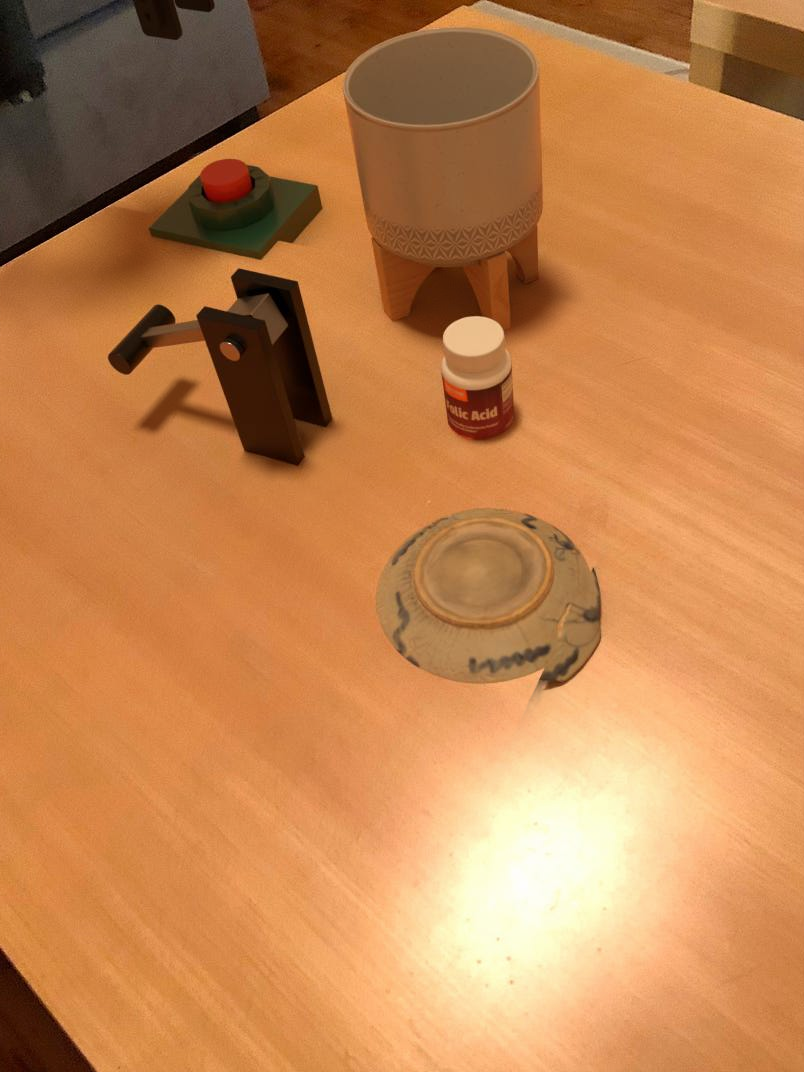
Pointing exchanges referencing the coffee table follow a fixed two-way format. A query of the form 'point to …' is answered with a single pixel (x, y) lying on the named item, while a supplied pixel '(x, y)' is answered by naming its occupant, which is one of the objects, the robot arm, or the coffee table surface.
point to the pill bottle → (477, 378)
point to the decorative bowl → (490, 599)
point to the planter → (448, 160)
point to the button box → (241, 216)
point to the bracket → (267, 369)
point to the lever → (185, 330)
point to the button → (226, 180)
